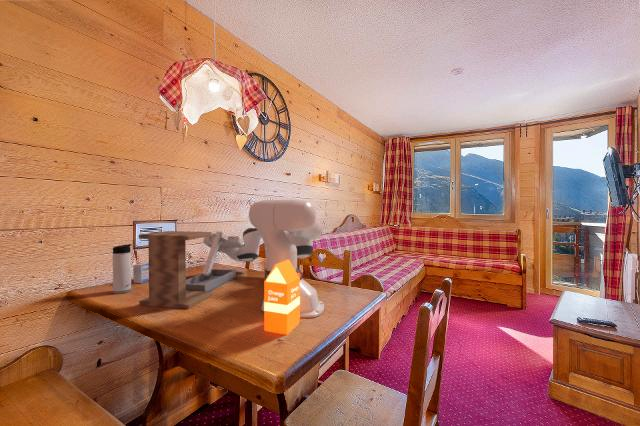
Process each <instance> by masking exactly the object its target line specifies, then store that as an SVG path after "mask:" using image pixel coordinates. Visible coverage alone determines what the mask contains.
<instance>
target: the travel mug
mask: <svg viewBox="0 0 640 426" xmlns="http://www.w3.org/2000/svg"><path fill="white" fill-rule="evenodd" d="M132 245H133V244H132V243H128V244H121V245H117V246H116V245H115V246H114V247H112V293H113V294H117V295H118V294H119V295H121V294H125V293H129V292H131V291H132V262H131V261H132V259H131V258H132V257H131V256H132V255H131V254H132V251H131V247H132Z"/></svg>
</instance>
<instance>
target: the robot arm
mask: <svg viewBox="0 0 640 426" xmlns="http://www.w3.org/2000/svg"><path fill="white" fill-rule="evenodd" d="M248 219H249V222H250V223H251V225H252V226H253V227H248V228H246V229H245V230H244V231H242V237H241V236H240V235H238V236H235V235H226V234H224V233H223V234H219V237H220V238H222V239H221V242H220V245H219V248H218V251H217V253H222V254H225V255H226V256H228V257H229V258H230V259H231V260H233V261H235V262H240V263H241V262H243V263H244V262H245V263H250V262H251V263H252V262H253V261H255V260H256V259H258V258H259V254H260V245H261V240H262V241H263V244H264V249H265V250H264V251H265V269H264V275H263V277H264V281H265V280H266V279H267V277H268V276H269V274H270V272H271V271H272V269H273V268H274V266H275V265H276V264H278V263H280V262H283V261H285V260H288V259H289V261H290V262H291V264H292V266H293V267H294V269H295V271H296V272H297V274H298V276H299V277H300V318H317V317H318V316H320V315H322V314H323V312H324V310H325V304H324V302H323V301H322V300H319V298H318V297H319V296H318V292H317V289H316V288H315V287H313V285H311V284H309V283H308V282H307V281H305V280H304V279H303V273H304V270H303V269H301V270H300V269H299V268H298V259H305V258H308V257H310V256H312V254H314V246H313V245H314V240H318V239H319V238H320V237H321V236H322V234H323V232H324V226H323V224H322V222H321V221H320V220H319V218H317V212H316V209H315V206H314V205H313V204H312V203H311V202H310V201H305V200H301V199H264V200H260V201H256V202H254V203H252V204H251V206H250V208H249V211H248ZM215 235H216V233H212V236H208V237H203V239H202V242H203V243H204V244H205V246H207V247H209V248H210V249H211V247H212V244H213V241H214V238H215ZM261 304H262V305H261V311H263V313H264V299H263V300H262V303H261Z"/></svg>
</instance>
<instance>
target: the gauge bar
mask: <svg viewBox="0 0 640 426" xmlns="http://www.w3.org/2000/svg"><path fill="white" fill-rule="evenodd" d="M215 234H216V235H215V238H214V241H213V244H212V247H211V248H210V250H209V252H208V256H207V258H206V261H205V264H204V267H203V270H202V273H201V274H203V275H204V276H210V273H211V270H212V269H213V266H214V263H215V261H216V258H217V254H218V248H219V245H220V242H221V239H222V238H220V237H219V234H224V232H222V231H216V232H215Z"/></svg>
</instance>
